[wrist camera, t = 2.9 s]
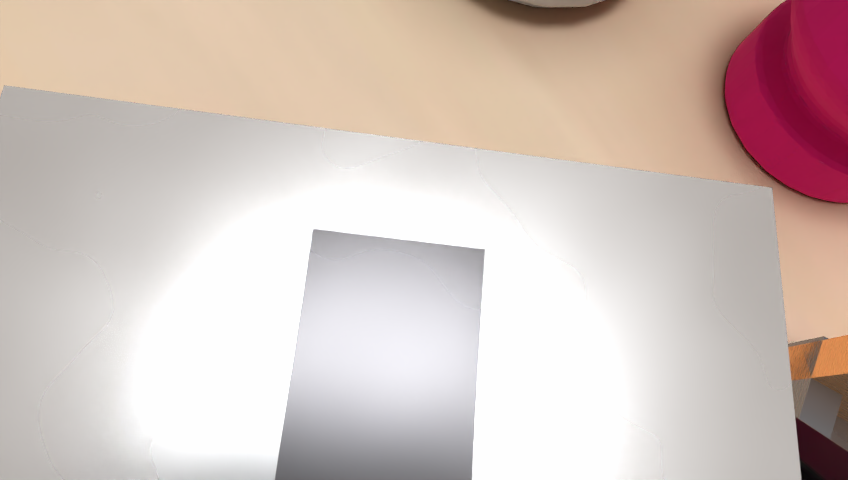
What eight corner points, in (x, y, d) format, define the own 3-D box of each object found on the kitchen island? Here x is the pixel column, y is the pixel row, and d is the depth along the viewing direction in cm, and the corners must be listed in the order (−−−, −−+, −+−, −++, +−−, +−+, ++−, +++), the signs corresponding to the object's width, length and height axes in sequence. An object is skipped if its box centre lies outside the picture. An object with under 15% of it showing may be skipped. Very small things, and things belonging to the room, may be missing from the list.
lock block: (474, 578, 14) (891, 1045, 3) (203, 558, 13) (-369, 1042, 3) (486, 355, 15) (793, 175, 5) (243, 330, 15) (-16, 66, 4)
